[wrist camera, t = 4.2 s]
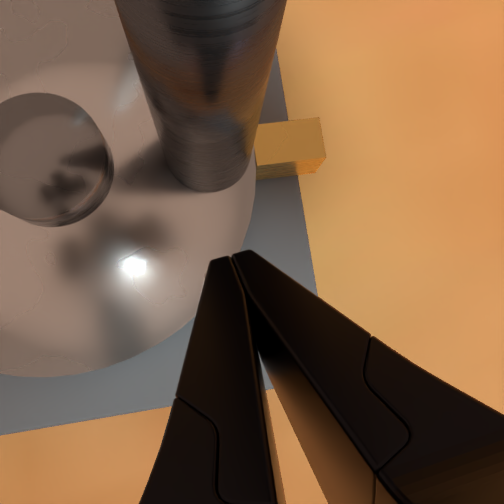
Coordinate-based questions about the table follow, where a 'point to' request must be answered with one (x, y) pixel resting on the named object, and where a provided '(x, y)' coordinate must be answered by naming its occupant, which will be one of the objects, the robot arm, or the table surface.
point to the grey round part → (128, 168)
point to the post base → (174, 347)
